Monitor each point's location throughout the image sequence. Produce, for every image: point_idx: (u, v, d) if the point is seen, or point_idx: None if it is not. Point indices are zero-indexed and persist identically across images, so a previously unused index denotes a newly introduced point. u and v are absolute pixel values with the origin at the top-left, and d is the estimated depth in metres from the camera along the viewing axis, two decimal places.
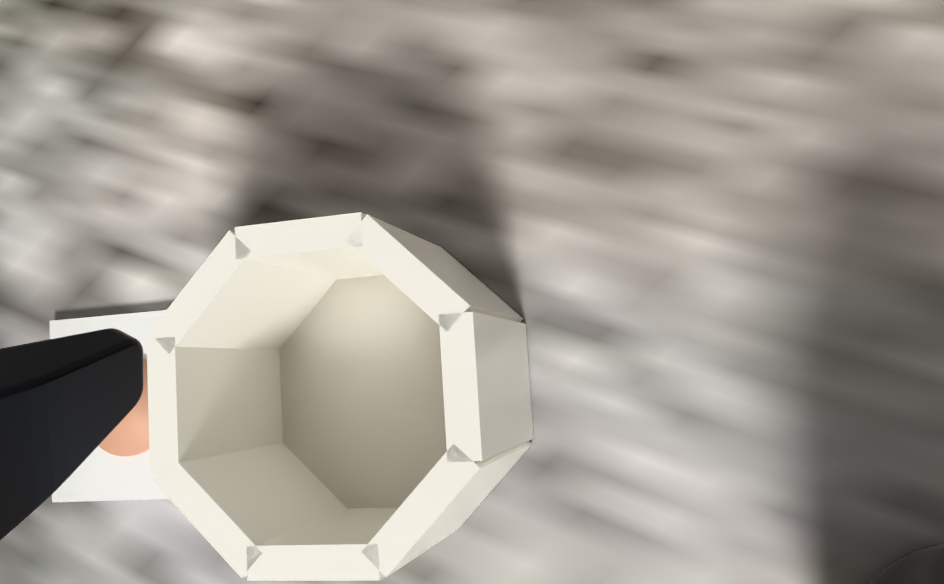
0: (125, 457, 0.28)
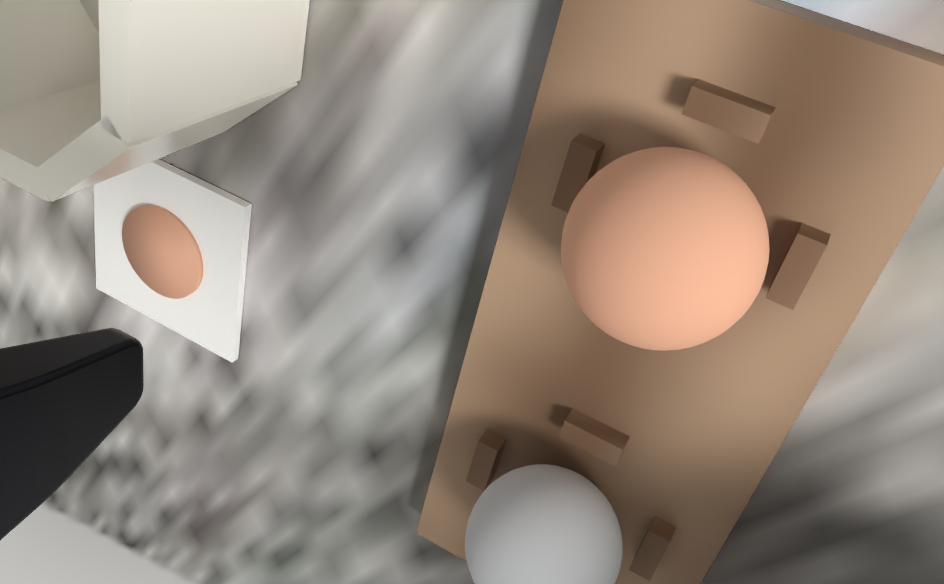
0: (202, 275, 0.27)
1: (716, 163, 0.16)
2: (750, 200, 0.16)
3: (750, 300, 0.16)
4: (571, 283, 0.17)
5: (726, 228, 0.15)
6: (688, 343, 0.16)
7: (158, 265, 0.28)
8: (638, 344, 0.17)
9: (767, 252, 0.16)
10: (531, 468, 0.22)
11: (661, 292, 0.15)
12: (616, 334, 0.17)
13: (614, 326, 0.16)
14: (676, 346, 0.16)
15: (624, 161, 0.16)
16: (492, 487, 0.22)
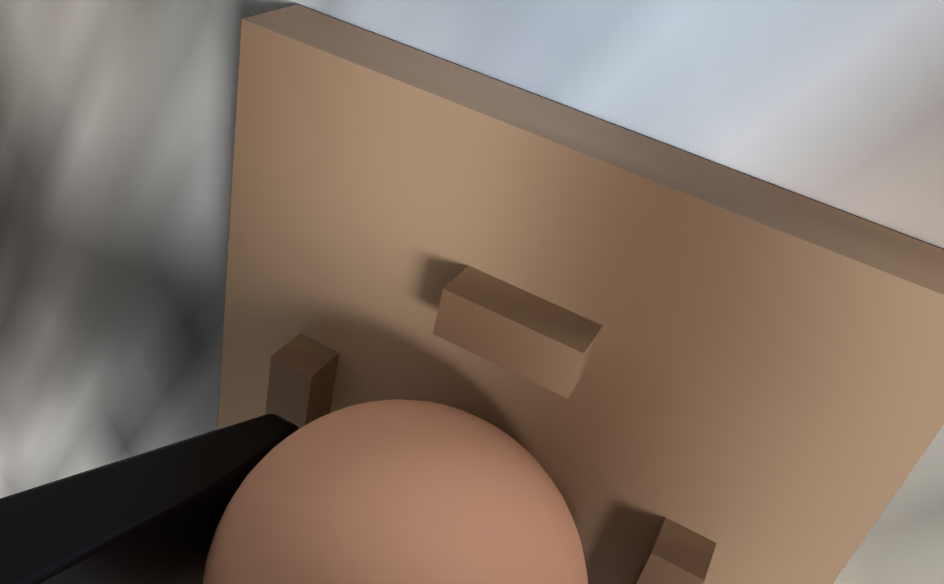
0: None
1: (470, 459, 0.08)
2: (530, 542, 0.08)
3: None
4: None
5: None
6: None
7: None
8: None
9: None
10: None
11: None
12: None
13: None
14: None
15: (298, 450, 0.08)
16: None
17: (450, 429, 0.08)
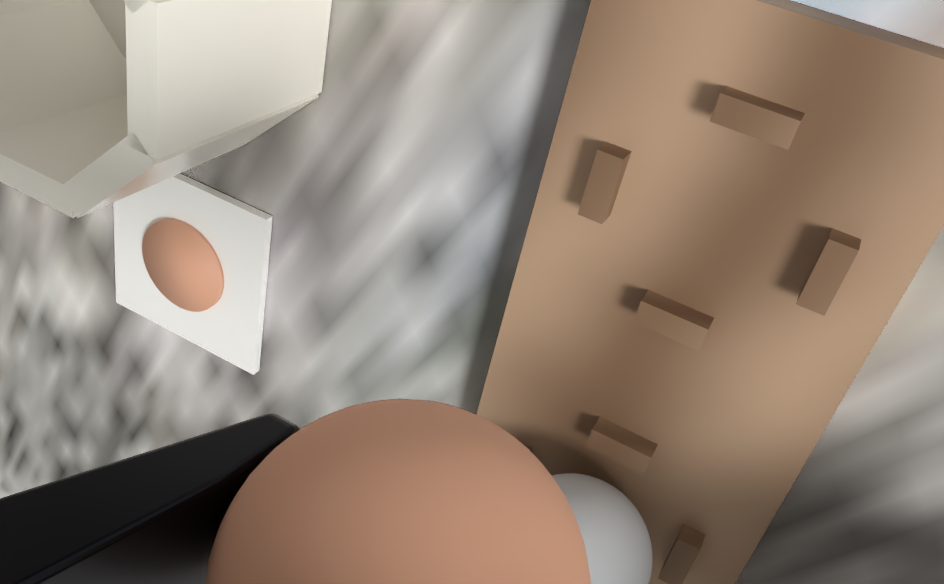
0: (223, 288, 0.27)
1: (473, 459, 0.08)
2: (534, 541, 0.08)
3: None
4: None
5: None
6: None
7: (178, 278, 0.28)
8: None
9: None
10: (559, 477, 0.22)
11: None
12: None
13: None
14: None
15: (300, 449, 0.08)
16: None
17: (453, 428, 0.08)
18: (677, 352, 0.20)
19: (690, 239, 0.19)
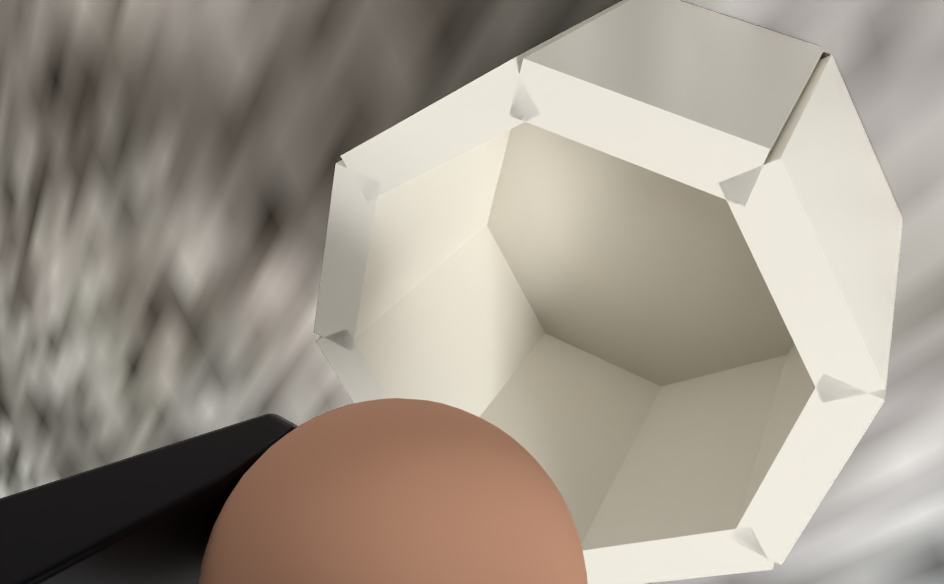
0: None
1: (469, 459, 0.08)
2: (530, 543, 0.08)
3: None
4: None
5: None
6: None
7: None
8: None
9: None
10: None
11: None
12: None
13: None
14: None
15: (295, 449, 0.08)
16: None
17: (449, 428, 0.08)
18: None
19: None
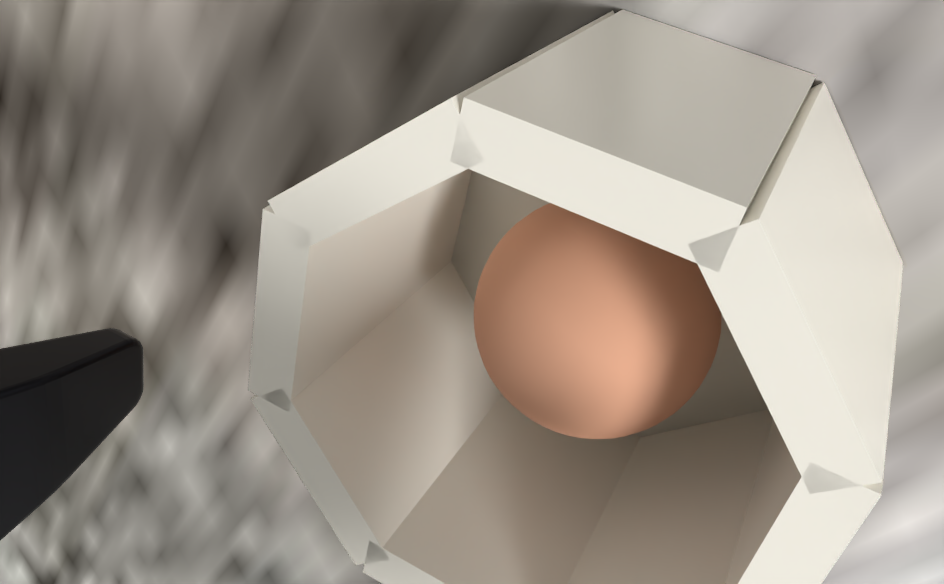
0: None
1: None
2: None
3: (698, 381, 0.13)
4: (484, 360, 0.14)
5: (664, 299, 0.12)
6: (625, 433, 0.13)
7: None
8: (565, 433, 0.14)
9: (718, 322, 0.13)
10: None
11: (585, 378, 0.12)
12: (539, 422, 0.14)
13: (535, 414, 0.13)
14: (611, 436, 0.13)
15: (543, 214, 0.13)
16: None
17: None
18: None
19: None
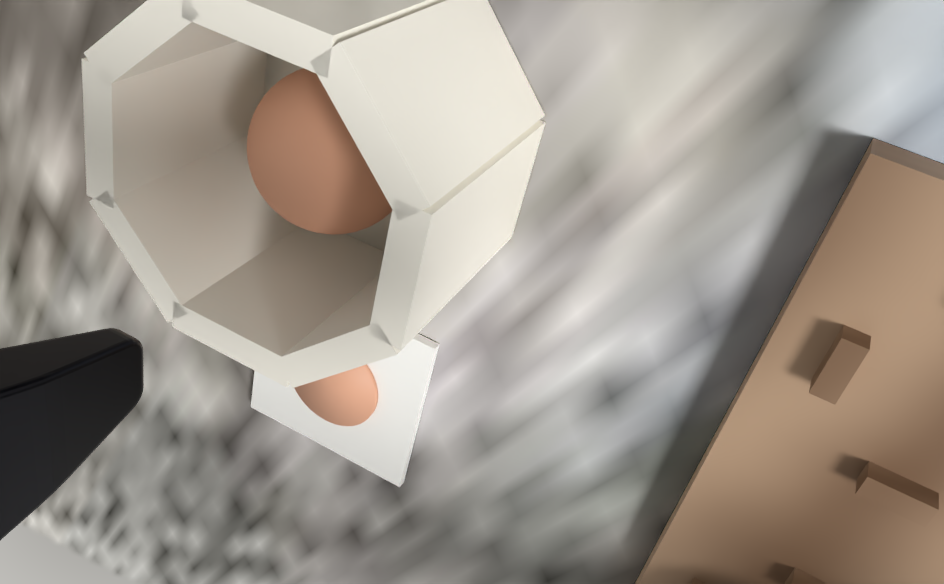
0: (377, 407, 0.27)
1: None
2: None
3: None
4: (253, 178, 0.20)
5: None
6: (345, 224, 0.20)
7: (328, 394, 0.28)
8: (308, 227, 0.20)
9: None
10: None
11: (305, 179, 0.19)
12: (289, 219, 0.20)
13: (283, 211, 0.20)
14: (337, 228, 0.20)
15: (288, 75, 0.20)
16: None
17: None
18: (892, 519, 0.20)
19: (924, 421, 0.19)
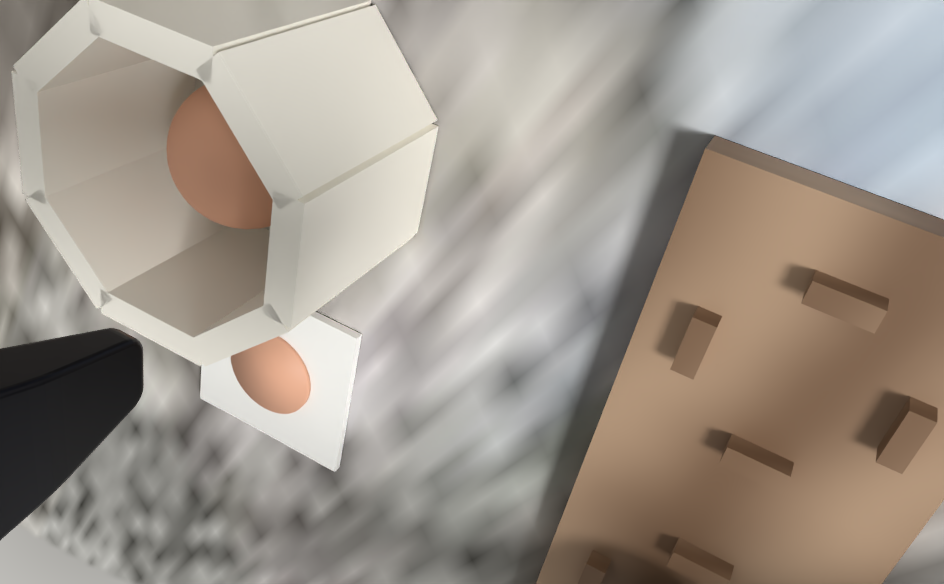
0: (310, 395, 0.29)
1: None
2: None
3: None
4: (173, 179, 0.22)
5: None
6: (254, 219, 0.22)
7: (266, 383, 0.30)
8: (222, 222, 0.22)
9: None
10: None
11: (214, 177, 0.21)
12: (206, 215, 0.22)
13: (199, 208, 0.22)
14: (247, 222, 0.22)
15: None
16: None
17: None
18: (757, 489, 0.22)
19: (774, 394, 0.21)
